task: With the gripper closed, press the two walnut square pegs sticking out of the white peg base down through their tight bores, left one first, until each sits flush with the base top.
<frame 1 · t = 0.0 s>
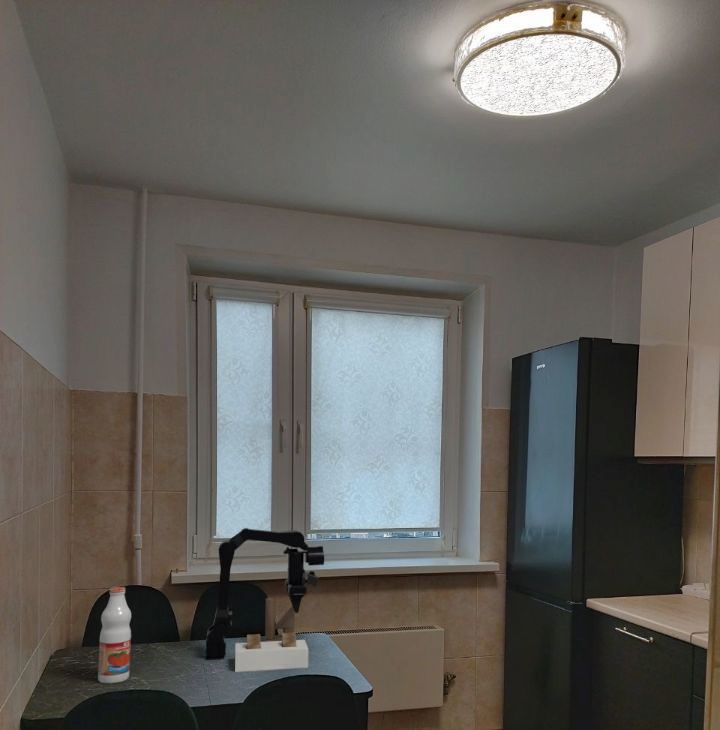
hand: (295, 610, 246), 15 cm above the table, tool pointing down, fingers open, 9 cm apart
left peg: (253, 644, 229), point 7 cm above the table, slide at 0.0 cm
right peg: (288, 642, 231), point 7 cm above the table, slide at 0.0 cm
wooden block: (278, 648, 250), on the table
white peg base: (271, 664, 229), on the table
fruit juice: (113, 680, 214), on the table
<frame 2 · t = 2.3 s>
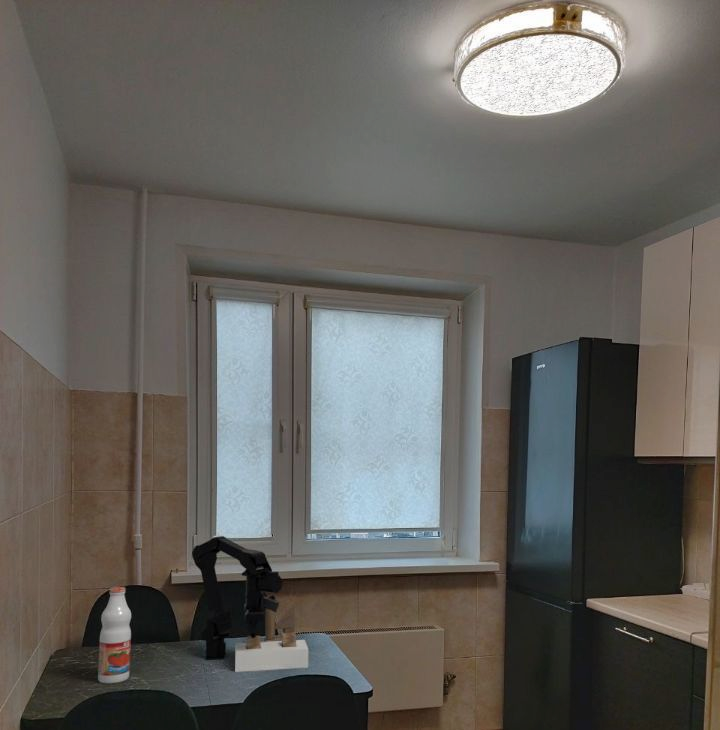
hand: (253, 637, 230), 9 cm above the table, tool pointing down, fingers closed, pressing on left peg
left peg: (253, 645, 229), point 6 cm above the table, slide at 0.4 cm, touching gripper
everything else where it was.
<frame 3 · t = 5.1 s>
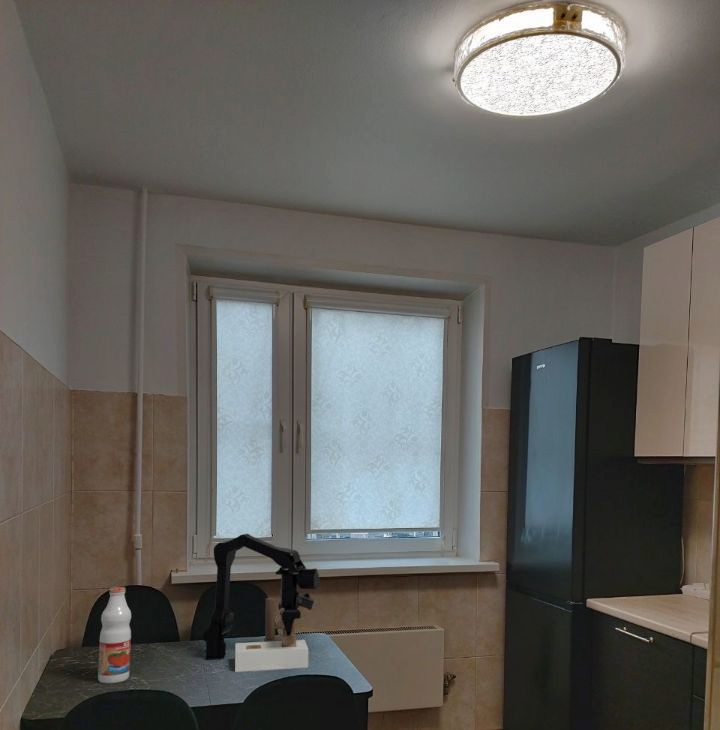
hand: (288, 635, 232), 9 cm above the table, tool pointing down, fingers closed, pressing on right peg
left peg: (253, 655, 229), point 3 cm above the table, slide at 3.6 cm
right peg: (288, 643, 231), point 7 cm above the table, slide at 0.3 cm, touching gripper
everything else where it was.
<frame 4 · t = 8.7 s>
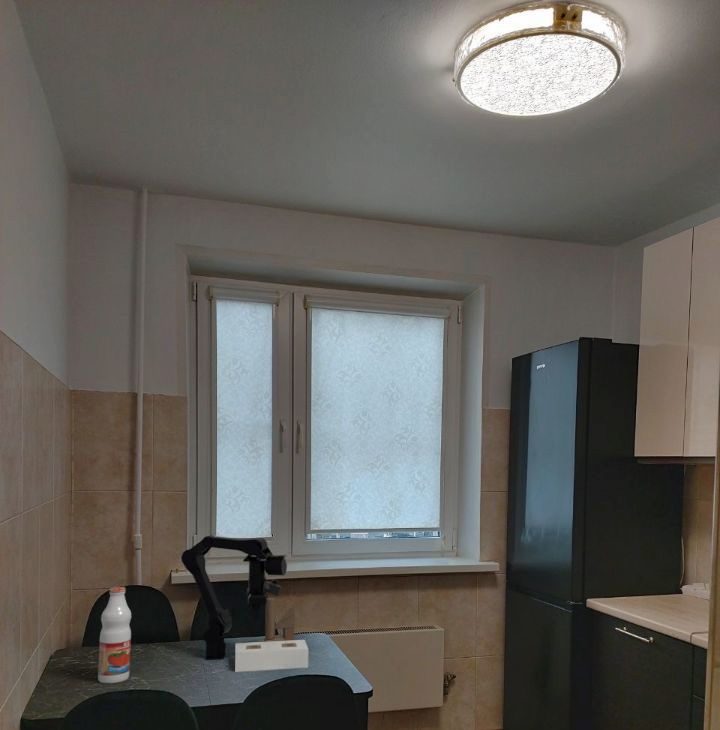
hand: (256, 620, 237), 13 cm above the table, tool pointing down, fingers closed
right peg: (288, 653, 231), point 3 cm above the table, slide at 3.5 cm
everything else where it was.
at the end: left peg slide at 3.6 cm; right peg slide at 3.5 cm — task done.
